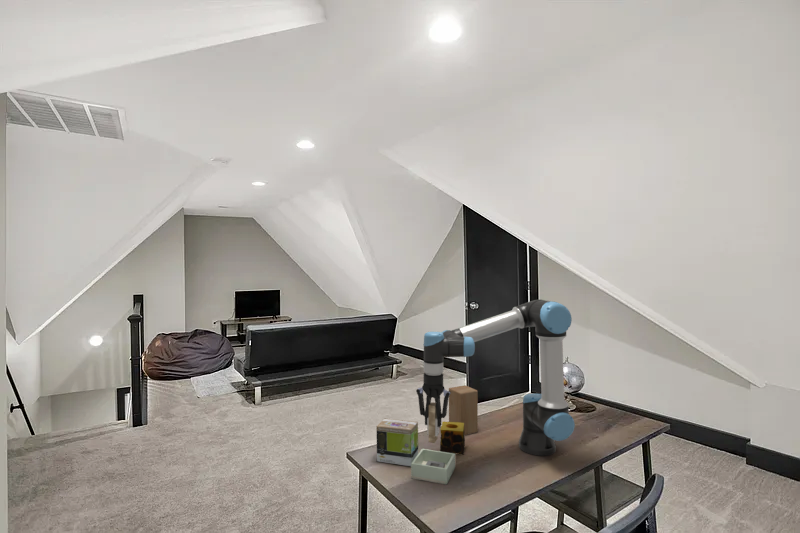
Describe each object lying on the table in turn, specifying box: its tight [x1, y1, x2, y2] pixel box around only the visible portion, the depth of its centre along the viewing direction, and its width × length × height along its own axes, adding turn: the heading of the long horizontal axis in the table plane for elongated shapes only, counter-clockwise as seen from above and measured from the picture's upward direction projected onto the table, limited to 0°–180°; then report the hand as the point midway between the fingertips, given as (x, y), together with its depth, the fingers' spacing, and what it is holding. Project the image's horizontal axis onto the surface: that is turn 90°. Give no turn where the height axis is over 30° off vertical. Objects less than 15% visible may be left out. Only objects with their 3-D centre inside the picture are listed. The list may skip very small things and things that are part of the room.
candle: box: [439, 421, 466, 455], centre depth 186 cm, size 10×10×10 cm
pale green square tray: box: [410, 448, 456, 485], centre depth 165 cm, size 14×14×6 cm
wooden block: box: [448, 385, 479, 436], centre depth 205 cm, size 10×10×20 cm
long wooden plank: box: [428, 401, 438, 444], centre depth 165 cm, size 2×4×14 cm, turn 160°
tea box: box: [375, 418, 419, 467], centre depth 176 cm, size 15×10×15 cm, turn 71°
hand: (433, 434), depth 165 cm, fingers closed on long wooden plank, 2 cm apart
